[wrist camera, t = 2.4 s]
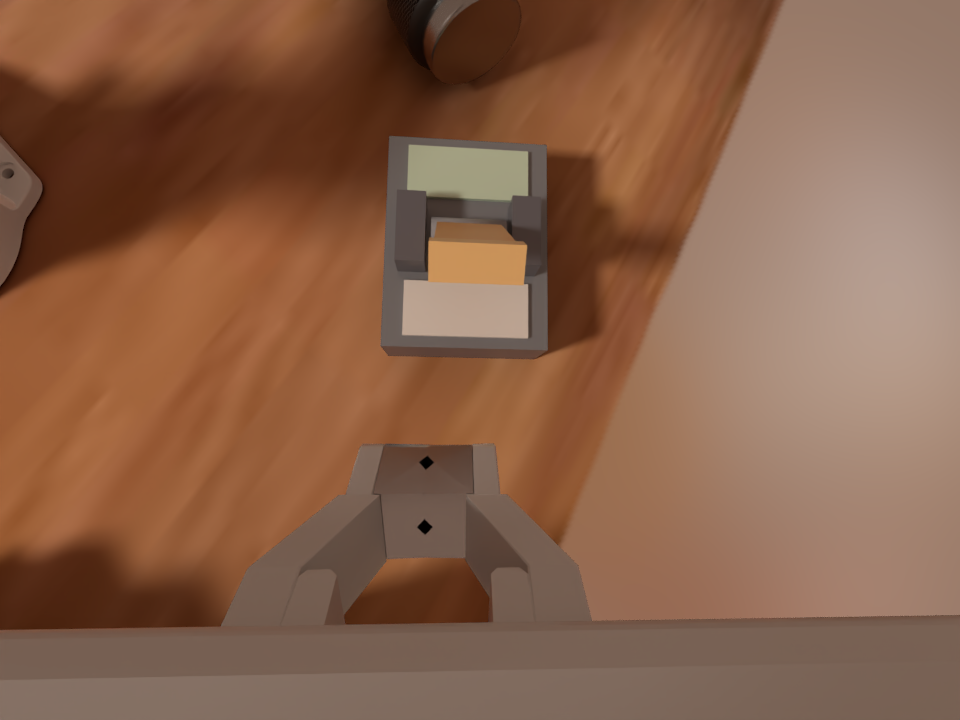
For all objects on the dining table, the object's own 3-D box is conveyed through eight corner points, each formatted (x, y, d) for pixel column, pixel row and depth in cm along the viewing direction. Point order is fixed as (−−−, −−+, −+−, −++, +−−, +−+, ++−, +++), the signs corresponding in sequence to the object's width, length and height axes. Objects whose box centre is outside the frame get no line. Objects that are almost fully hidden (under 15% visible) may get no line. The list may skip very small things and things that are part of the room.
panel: (534, 359, 39) (555, 344, 32) (388, 355, 38) (375, 339, 31) (534, 178, 41) (554, 125, 34) (395, 170, 40) (385, 114, 33)
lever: (502, 246, 35) (527, 285, 24) (431, 243, 34) (424, 281, 23) (504, 218, 34) (531, 245, 23) (432, 215, 34) (424, 240, 23)
